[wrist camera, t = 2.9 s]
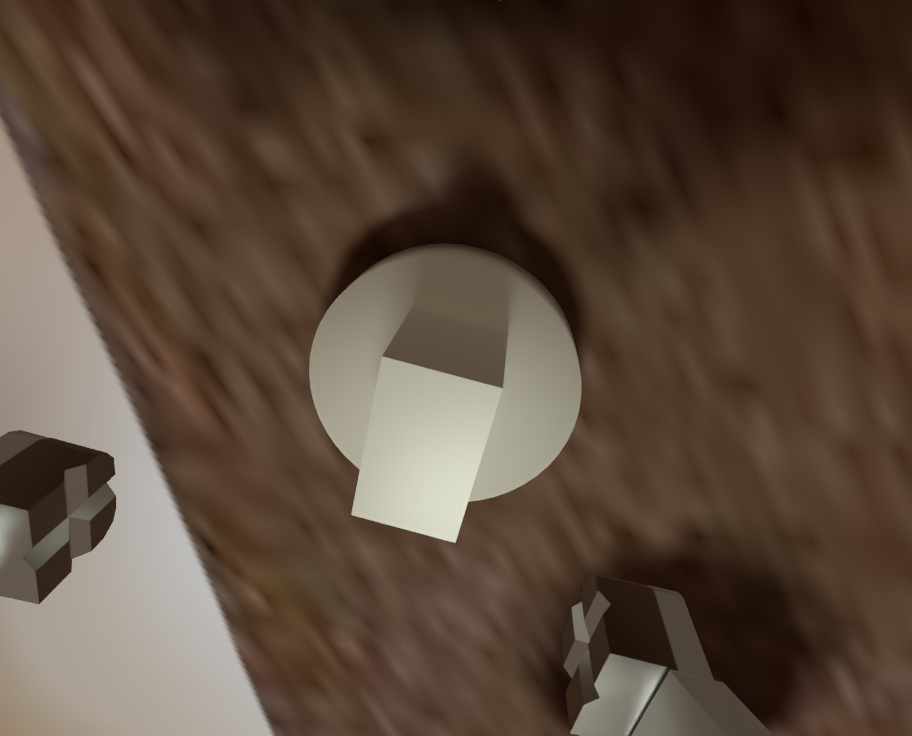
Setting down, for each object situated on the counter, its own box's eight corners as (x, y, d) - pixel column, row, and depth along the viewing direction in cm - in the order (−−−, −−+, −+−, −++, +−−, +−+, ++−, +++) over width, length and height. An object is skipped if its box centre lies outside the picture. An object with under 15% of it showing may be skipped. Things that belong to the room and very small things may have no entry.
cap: (614, 281, 14) (648, 349, 10) (534, 496, 17) (536, 615, 13) (346, 211, 14) (273, 250, 10) (314, 437, 17) (247, 537, 13)
